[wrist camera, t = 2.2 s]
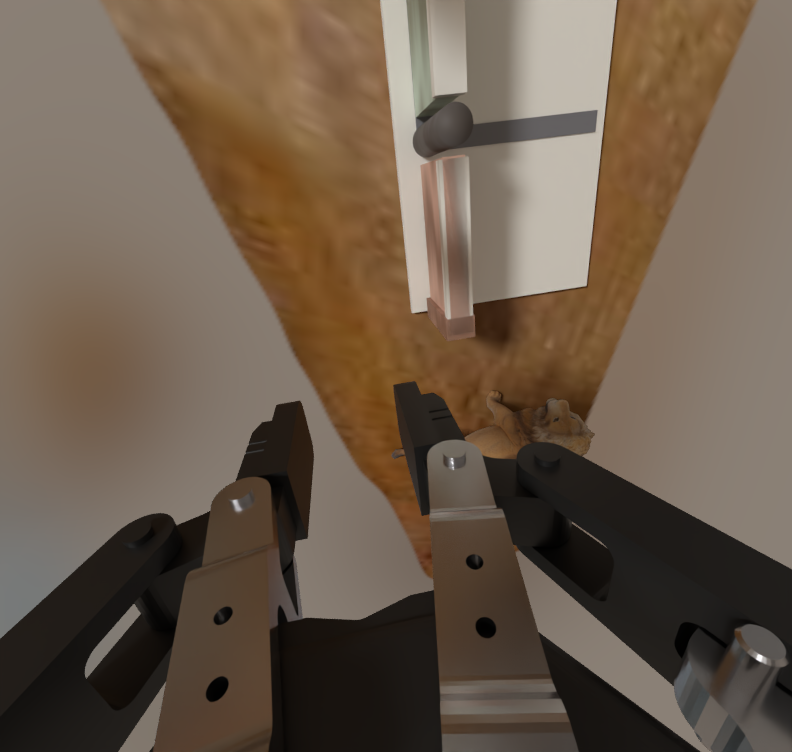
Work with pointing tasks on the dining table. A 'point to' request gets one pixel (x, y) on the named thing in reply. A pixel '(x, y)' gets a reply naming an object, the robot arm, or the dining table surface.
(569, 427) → the lion figurine
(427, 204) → the fence panel
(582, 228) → the card
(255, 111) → the dining table surface
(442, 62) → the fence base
